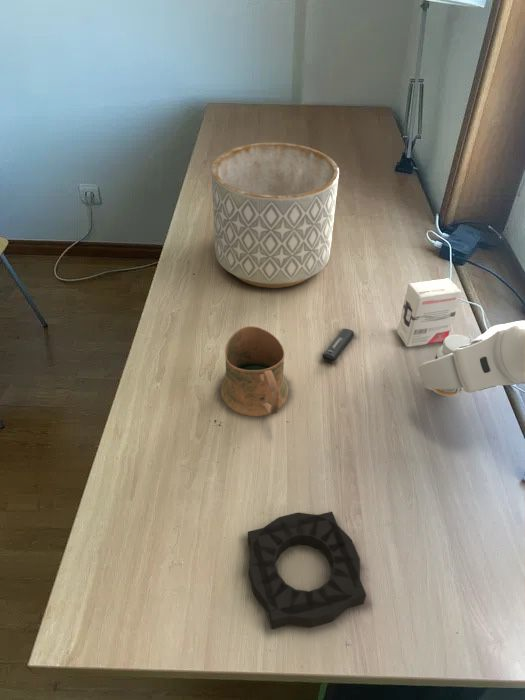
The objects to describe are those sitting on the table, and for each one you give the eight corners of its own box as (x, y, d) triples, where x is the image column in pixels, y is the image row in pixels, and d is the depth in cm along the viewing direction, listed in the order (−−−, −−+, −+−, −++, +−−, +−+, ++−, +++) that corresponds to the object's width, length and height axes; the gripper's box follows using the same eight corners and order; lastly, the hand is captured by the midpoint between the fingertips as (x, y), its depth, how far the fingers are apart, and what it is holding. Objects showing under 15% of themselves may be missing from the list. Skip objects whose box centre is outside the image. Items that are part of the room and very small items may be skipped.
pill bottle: (441, 370, 100) (454, 327, 94) (468, 388, 97) (484, 345, 90) (420, 384, 98) (433, 341, 91) (448, 403, 94) (463, 360, 88)
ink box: (435, 325, 111) (450, 276, 104) (447, 341, 108) (463, 291, 100) (396, 331, 110) (407, 282, 102) (406, 348, 106) (419, 298, 98)
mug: (238, 450, 88) (237, 398, 80) (215, 374, 100) (211, 322, 92) (308, 436, 90) (313, 383, 82) (277, 362, 103) (279, 311, 95)
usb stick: (342, 331, 110) (343, 325, 109) (355, 336, 109) (356, 330, 108) (320, 359, 104) (320, 353, 103) (333, 365, 103) (333, 358, 102)
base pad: (374, 609, 70) (377, 600, 68) (265, 640, 67) (266, 631, 66) (334, 512, 80) (336, 503, 78) (238, 535, 77) (238, 526, 76)
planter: (285, 310, 114) (290, 211, 99) (192, 267, 125) (184, 171, 110) (349, 256, 129) (362, 163, 114) (261, 221, 141) (262, 133, 126)
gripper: (555, 313, 85) (490, 326, 98) (449, 352, 78) (394, 360, 91) (568, 353, 85) (501, 361, 98) (462, 396, 78) (406, 397, 91)
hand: (449, 361), depth 94 cm, fingers closed on pill bottle, 6 cm apart
